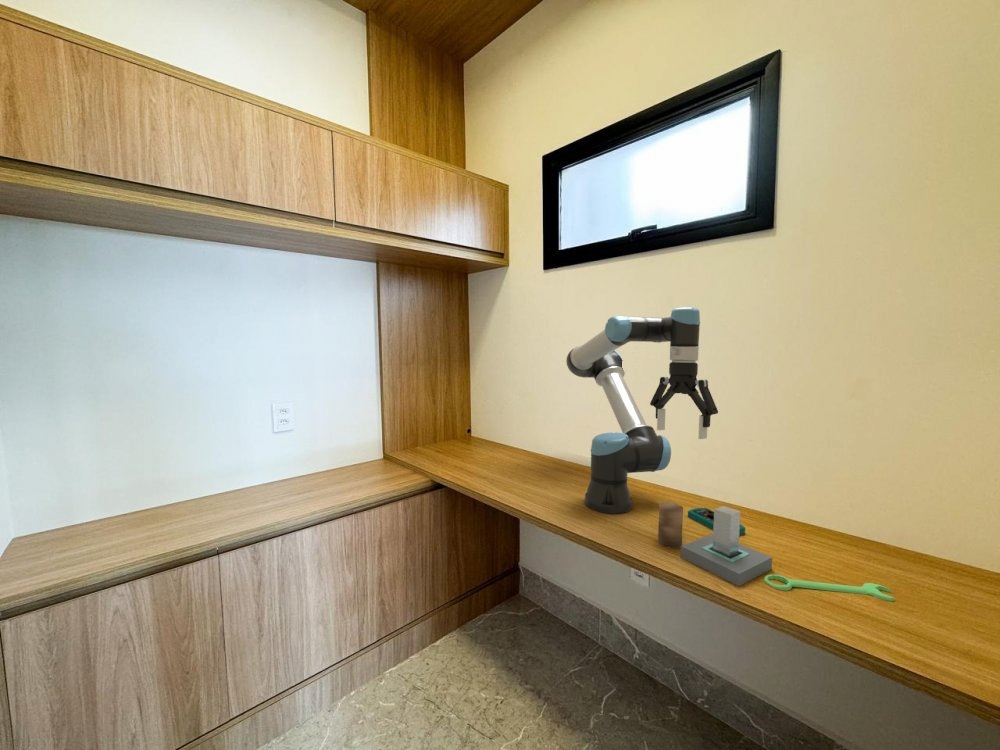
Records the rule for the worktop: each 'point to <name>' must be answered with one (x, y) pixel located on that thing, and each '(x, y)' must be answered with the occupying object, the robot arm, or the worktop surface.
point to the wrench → (830, 587)
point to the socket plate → (727, 561)
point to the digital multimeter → (707, 518)
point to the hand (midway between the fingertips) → (680, 434)
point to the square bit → (726, 531)
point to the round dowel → (670, 525)
